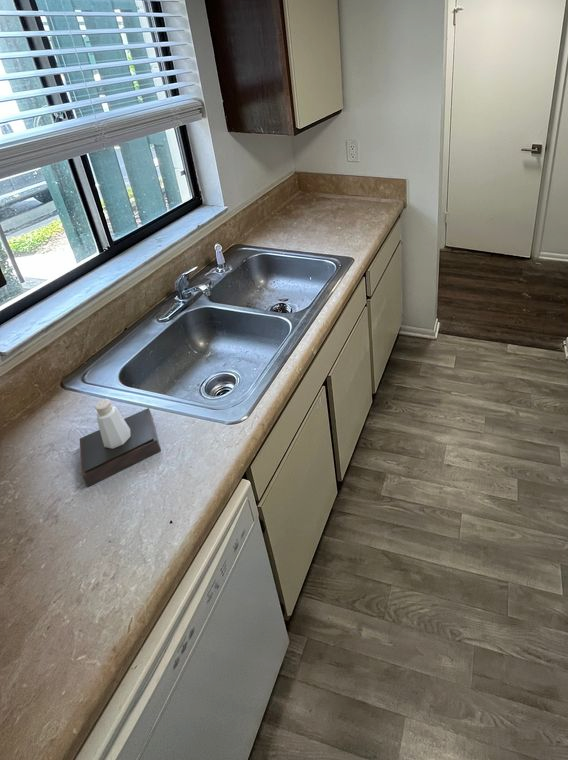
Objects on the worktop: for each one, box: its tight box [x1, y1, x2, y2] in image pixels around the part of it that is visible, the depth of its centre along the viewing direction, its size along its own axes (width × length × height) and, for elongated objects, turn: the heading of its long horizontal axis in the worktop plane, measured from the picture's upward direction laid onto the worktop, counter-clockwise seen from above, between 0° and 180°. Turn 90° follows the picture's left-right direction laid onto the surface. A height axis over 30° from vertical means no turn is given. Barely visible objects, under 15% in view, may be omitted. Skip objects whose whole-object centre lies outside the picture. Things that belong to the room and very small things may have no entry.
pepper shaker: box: [94, 398, 131, 449], centre depth 95 cm, size 5×5×11 cm
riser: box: [79, 407, 162, 488], centre depth 98 cm, size 14×11×4 cm
